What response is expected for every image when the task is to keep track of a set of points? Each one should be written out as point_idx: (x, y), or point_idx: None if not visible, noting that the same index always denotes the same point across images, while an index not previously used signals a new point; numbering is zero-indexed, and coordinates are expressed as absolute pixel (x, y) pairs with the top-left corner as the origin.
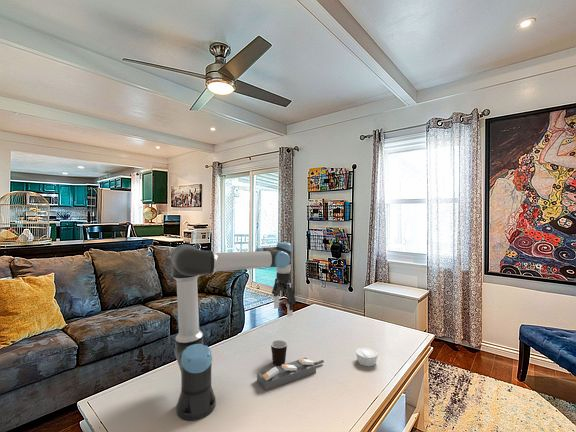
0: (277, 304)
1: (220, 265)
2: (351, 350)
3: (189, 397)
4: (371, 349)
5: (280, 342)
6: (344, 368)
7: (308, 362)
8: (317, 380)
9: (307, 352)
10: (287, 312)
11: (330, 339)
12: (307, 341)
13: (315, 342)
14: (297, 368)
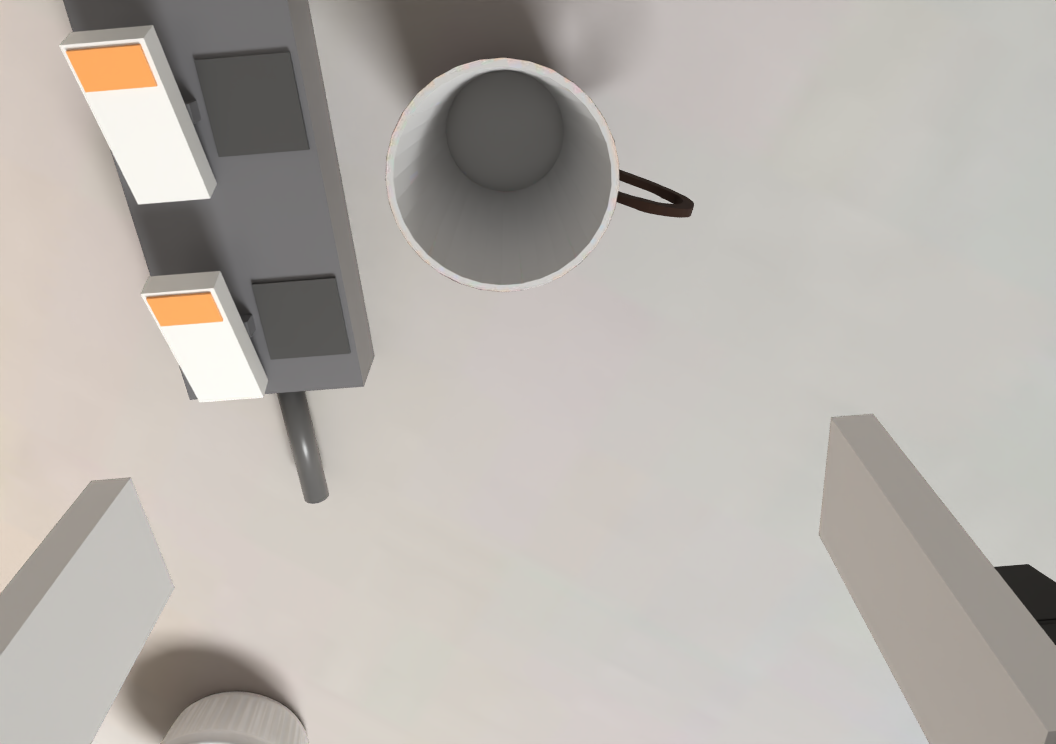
0: (865, 565)
1: None
2: (427, 737)
3: None
4: None
5: (582, 235)
6: (208, 579)
7: (172, 348)
8: (96, 322)
9: (556, 463)
10: (71, 550)
11: (656, 708)
12: (734, 552)
13: (679, 596)
14: (189, 218)
